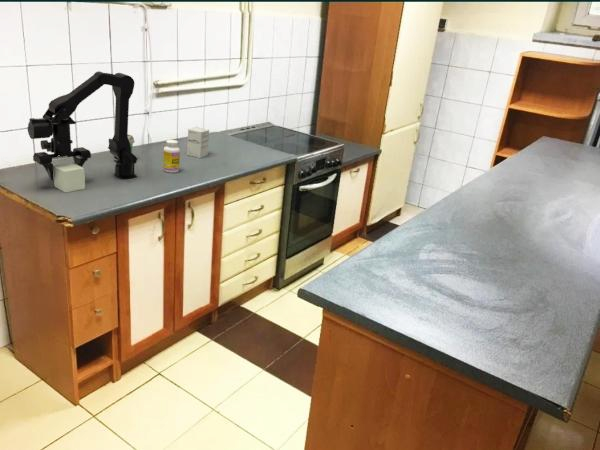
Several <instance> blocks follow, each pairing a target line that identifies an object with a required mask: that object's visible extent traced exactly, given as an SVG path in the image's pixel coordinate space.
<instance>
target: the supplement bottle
mask: <svg viewBox="0 0 600 450" xmlns="http://www.w3.org/2000/svg"><path fill="white" fill-rule="evenodd" d="M165 142H166V143H165V145H166V146H164V147H163V157H162V161H163V162H162V163H163V164H162V169H163V172H166V173H169V174H170V173H177V172H179V171H180V157H181V156H180V155H181V149H180V148H179V147H178V144H179V141H178V140H176V139H167V140H166V141H165Z"/></svg>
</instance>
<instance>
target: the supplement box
mask: <svg viewBox="0 0 600 450" xmlns="http://www.w3.org/2000/svg"><path fill="white" fill-rule="evenodd" d="M209 141H210V129H206V128H201V127H199V126H194V127H191V128H188V129H187V148H186V149H187V150H186V155H187V156H189V157H190V156H191V157H195V158H198V159H201V158H204V157H207V156H208V155H209ZM206 155H207V156H206Z"/></svg>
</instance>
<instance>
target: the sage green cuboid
mask: <svg viewBox="0 0 600 450" xmlns="http://www.w3.org/2000/svg"><path fill="white" fill-rule="evenodd" d="M85 176H86V175H85V167H83V166H82V167H80V166H78V165H76V164H74V162H69V163H62V164H57V165H53V182H54V183H53V185H54V187H55V188H57V189H58V190H60V191H61V192H64V193H70V192H75V191H80V190H85V189H86V181H85Z"/></svg>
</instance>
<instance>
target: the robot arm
mask: <svg viewBox="0 0 600 450" xmlns="http://www.w3.org/2000/svg"><path fill="white" fill-rule="evenodd" d="M105 85H106V86H107V85H108V86H111V87H112V91H113V93H114V96H115V107H114V108H115V110H114V111H115V112H114V135H113V137H112V138H108V147H107V149H108V150H109V153H110V154H111V155H112V156H113V159H114V158H115V159H117V160H118V161H116V162H115V163H116V164H115V165H114V172H115V173H113V174H114V175H113V176H116V177H117V178H120V179H121V180H126V179H132V178H137V176H138V175H137V174H135V164H137V161H138V157H136V156H135V155H134V154H133V152H132V153H131V145H130V142H129V139H128V134H129V132H128V131H129V109H130V107H129V105H130V99H131V97H132V95H133V92H134V89H135V79H133V77H132V76H131V75H128V74H125V73H121V72H117V73H115V74H113V73H110V72H109V73H108V72H102V71H100V70H99V71H96V72H95V73H94V74H92V76H90V77H89V78H88V79H86V80H84V82H82V83H81V84H80V85H78V86H77V87H76V88H74V89H73V90H72V91H70V92H69V93H67V94H63V95H60V96H58V97H56V98H54V99H52V100H51V101H49V103H48V108H47V110H46V111H45V113H44V114H43V115H42V118H41V117H40V118H33V117H32V118H29V119H28V120H29V122H28V124H27V133H28V136H29V138H30V139H31V140H36V139H43V140H40V148H41V150H46V152H45V151H41V152H34V154H33V156H32V159H33V161H34V162H35V163H37V164H39V165H42V166H43V168H44V169H45V171H46V173H47V175H48V177H49V180H50V181H53V182H54V172H53V166H54V164H53V163H52V162H53V160H60V159H64V158H73V163H74V164H76V165H78V166H80V167H83V166H84V164H85V163H86V161H88V160H89V159H91V157H92V153H91V151H90V150H89V149H87V148H85V147H83V146H82V147H80V146H79V147H75V148H73V149H72V144H73V140H72V139H71V125H76V123H77V121H75V120H74V119H73V118H72V117H71V116H72V115H73V114H74V113H75V111H77V108H78V106H79V105H80V103H82V102H84V101H85V100H86V99H87V98H88V97H90V96H91V95H92V94H94V93H95V92H96V91H98V90H99V89H100V88H101V87H103V86H105ZM50 137H51V139H50V142H49V141H48V139H49V138H50ZM49 152H50V153H51V154H50V153H49Z"/></svg>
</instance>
